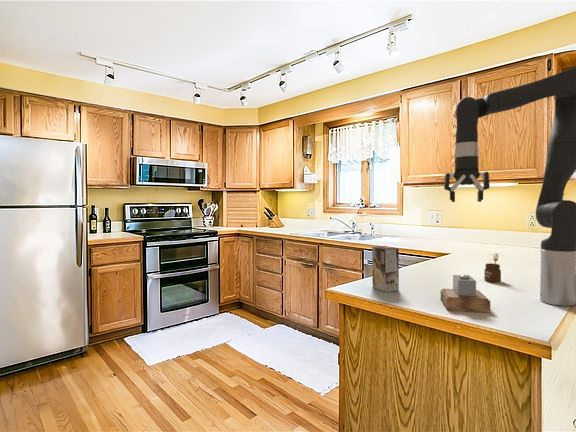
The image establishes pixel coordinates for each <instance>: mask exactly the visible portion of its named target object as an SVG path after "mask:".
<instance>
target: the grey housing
mask: <svg viewBox="0 0 576 432" xmlns="http://www.w3.org/2000/svg"><path fill="white" fill-rule="evenodd" d="M452 289H453V291H454V292H455V293H456V294H457V295H458V296H462V297H476V290H477V280H476V279H474V278H473V277H472V276H471V275H468V274H452Z"/></svg>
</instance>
